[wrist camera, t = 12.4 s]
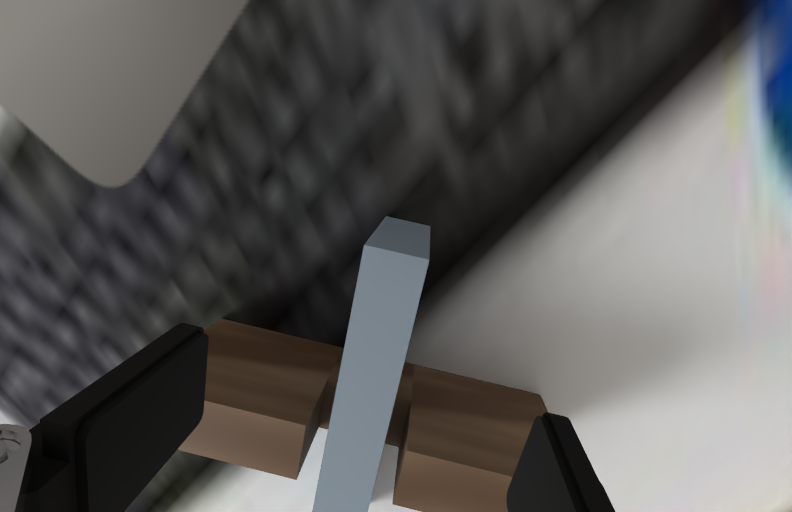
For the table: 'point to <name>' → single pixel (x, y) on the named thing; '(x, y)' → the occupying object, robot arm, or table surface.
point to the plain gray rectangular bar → (372, 363)
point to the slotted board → (408, 429)
